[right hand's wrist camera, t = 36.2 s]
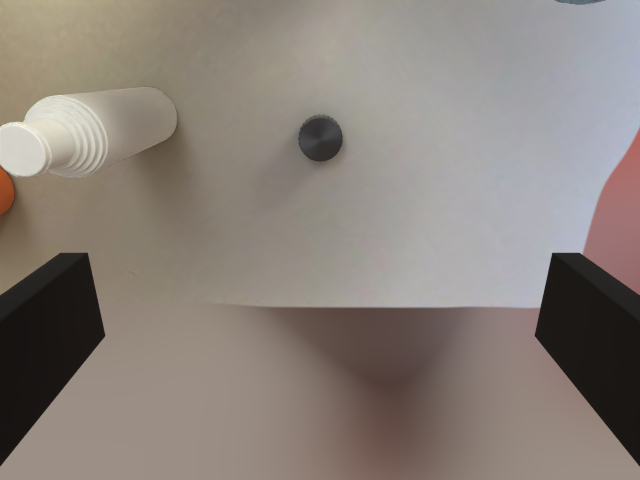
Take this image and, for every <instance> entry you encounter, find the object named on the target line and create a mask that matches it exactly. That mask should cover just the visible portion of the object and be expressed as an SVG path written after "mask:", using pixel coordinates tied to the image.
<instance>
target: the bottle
mask: <svg viewBox="0 0 640 480" xmlns="http://www.w3.org/2000/svg"><path fill="white" fill-rule="evenodd" d="M176 125H177V112H176V109H175V106H174V104H173V103H172V101H171V100H170V98H169V97H168V96H167V95H166V94H165V93H163V92H162V91H160V90H158V89H156V88H152V87H136V88H126V89H116V90H106V91H96V92H86V93H76V94H66V95H55V96H49V97H46V98H44V99H42V100H40V101H38V102H37V103H36V104H35V105H33V106H32V107H31V108H30V109H29V111H28V112H27V114H26V116H25V119H24V122H10V123H7V124H5V125H2V126H1V127H0V165H1V166H2V167H3V168H4V170H6V171H7V172H9V173H10V174H11V175H14V176H16V177H19V176H21V177H32V176H38V175H41V174H43V173H45V172H46V171H49V172H51V173H53V174H55V175H58V176H62V177H68V178H82V177H86V176H89V175H91V174H93V173H95V172H98V171H100V170H102V169H104V168H106V167H108V166H111V165H113V164H115V163H117V162H119V161H121V160H124V159H126V158H128V157H130V156H132V155H135V154H137V153H139V152H141V151H143V150H145V149H148V148H150V147H152V146H154V145H156V144H158V143H161V142H163V141H165V140H167V139H168V138H169V137H170V136H171V135H172V134H173V132H174V131H175V128H176Z"/></svg>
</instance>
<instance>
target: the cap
mask: <svg viewBox="0 0 640 480" xmlns="http://www.w3.org/2000/svg"><path fill="white" fill-rule="evenodd" d="M300 130H301V131H300V132H299V139H298V140H299V144H300V148H301V150H302V152H303V153H304V154H305V155H306V156H307V157H308V158H310V159H312V160H315V161H326V160H329V159H331V158H333V157H334V156H335V155H336V154H337V153H338V152H339V150H340V148H341V145H342V134H341V129H340V127H339V125H338V124H337V122H336V121H334V120H333V118H330V117H329V116H324V115H317V116H315V115H314V116H313V117H310V118H309V119H308V120H306V122H305V123H303V126H302V127H301V129H300Z"/></svg>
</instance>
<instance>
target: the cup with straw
mask: <svg viewBox="0 0 640 480" xmlns="http://www.w3.org/2000/svg"><path fill="white" fill-rule="evenodd" d="M14 195H15V193H14V186H13V183H12V181H11V179H10V177H9V176H8V174H7V173H6V172H5V171H4V170H3V169H2V168H1V167H0V215H1V214H3V213H4V212H6V211H7V210H8V209H9V208H10V207H11V205H12V203H13V201H14Z"/></svg>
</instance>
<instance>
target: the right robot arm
mask: <svg viewBox="0 0 640 480" xmlns="http://www.w3.org/2000/svg"><path fill="white" fill-rule="evenodd" d="M555 1H558V2H561V3H569V4H577V5H584V4H591V3H596V2H600V1H604V0H555ZM104 337H105V332H104V327H103V323H102V318H101V313H100V309H99V304H98V299H97V295H96V290H95V285H94V280H93V276H92V271H91V266H90V262H89V257H88V253H60V254H58V255H57V256H55V257H54V258H53V259H51V260H50V261H48V262H47V263H46V264H44V265H43V266H41V267H40V268H38V269H37V270H36V271H34V272H33V273H31V274H30V275H29V276H27V277H26V278H24V279H23V280H22V281H20V282H19V283H17V284H16V285H14V286H13V287H12V288H10V289H9V290H7V291H6V292H5V293H3V294H2V295H0V466H1V465H2V464H3V462H4V461H5V460H6V459H7V457H8V456H9V455H10V454H11V452H12V451H13V450H14V449H15V447H16V446H17V445H18V444H19V442H20V441H21V440H22V439H23V437H24V436H25V435H26V434H27V432H28V431H29V430H30V429H31V427H32V426H33V425H34V424H35V423H36V421H37V420H38V419H39V418H40V416H41V415H42V414H43V413H44V411H45V410H46V409H47V408H48V406H49V405H50V404H51V403H52V401H53V400H54V399H55V398H56V396H57V395H58V394H59V393H60V392H61V390H62V389H63V388H64V386H65V385H66V384H67V383H68V382H69V380H70V379H71V378H72V377H73V375H74V374H75V373H76V372H77V370H78V369H79V368H80V367H81V365H82V364H83V363H84V362H85V360H86V359H87V358H88V357H89V355H90V354H91V353H92V352H93V351H94V349H95V348H96V347H97V346H98V344H99V343H100V342H101V341H102V339H103V338H104ZM535 337H536V338H537V339H538V341H539V342H540V343H541V344H542V346H543V347H544V348H545V349H546V350H547V352H548V353H549V354H550V355H551V357H552V358H553V359H554V360H555V362H556V363H557V364H558V365H559V367H560V368H561V369H562V370H563V372H564V373H565V374H566V375H567V377H568V378H569V379H570V380H571V382H572V383H573V384H574V385H575V387H576V388H577V389H578V390H579V391H580V393H581V394H582V395H583V396H584V398H585V399H586V400H587V401H588V403H589V404H590V405H591V406H592V408H593V409H594V410H595V411H596V413H597V414H598V415H599V416H600V418H601V419H602V420H603V421H604V423H605V424H606V425H607V426H608V428H609V429H610V430H611V431H612V432H613V434H614V435H615V436H616V437H617V439H618V440H619V441H620V442H621V444H622V445H623V446H624V447H625V449H626V450H627V451H628V452H629V454H630V455H631V456H632V457H633V459H634V460H635V461H636V462H637V463H638V465H639V466H640V295H638V294H637V293H635V292H634V291H633V290H631V289H630V288H628V287H627V286H626V285H624V284H623V283H621V282H620V281H618V280H617V279H616V278H614V277H613V276H611V275H610V274H609V273H607V272H606V271H604V270H603V269H602V268H600V267H599V266H597V265H596V264H594V263H593V262H592V261H590V260H589V259H587V258H586V257H585V256H583V255H582V254H580V253H552V257H551V262H550V266H549V271H548V276H547V280H546V285H545V290H544V294H543V299H542V304H541V309H540V313H539V318H538V323H537V328H536V332H535Z"/></svg>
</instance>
